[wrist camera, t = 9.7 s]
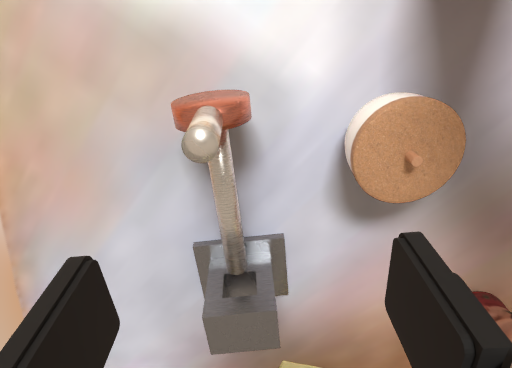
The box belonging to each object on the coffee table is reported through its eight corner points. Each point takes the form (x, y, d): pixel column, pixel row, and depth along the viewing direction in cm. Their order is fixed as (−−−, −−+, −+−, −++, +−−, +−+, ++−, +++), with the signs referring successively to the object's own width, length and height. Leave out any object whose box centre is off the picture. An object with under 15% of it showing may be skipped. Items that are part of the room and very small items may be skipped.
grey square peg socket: (193, 242, 45) (180, 306, 35) (283, 233, 45) (294, 294, 35) (206, 297, 50) (196, 367, 40) (287, 289, 49) (298, 357, 40)
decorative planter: (457, 365, 59) (514, 460, 46) (395, 352, 57) (438, 448, 44) (532, 282, 50) (627, 369, 38) (464, 263, 48) (540, 349, 36)
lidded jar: (357, 187, 42) (385, 230, 34) (317, 117, 38) (337, 146, 30) (439, 142, 40) (492, 176, 31) (406, 62, 36) (456, 76, 27)
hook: (177, 92, 33) (142, 134, 22) (248, 84, 33) (251, 122, 22) (209, 251, 42) (196, 341, 30) (265, 246, 42) (274, 334, 30)
